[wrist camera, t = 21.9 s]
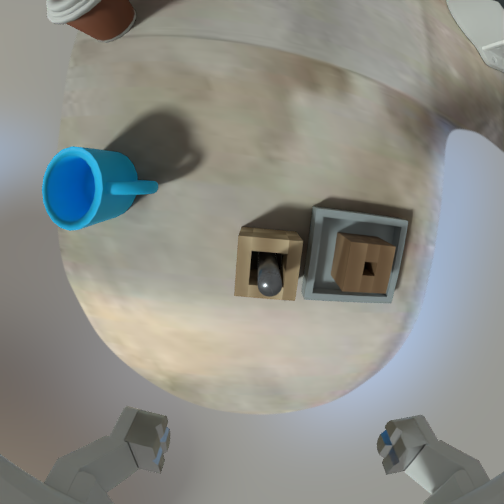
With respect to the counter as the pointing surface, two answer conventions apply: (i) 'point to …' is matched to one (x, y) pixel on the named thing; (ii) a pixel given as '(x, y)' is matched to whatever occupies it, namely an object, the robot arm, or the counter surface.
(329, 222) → the tray
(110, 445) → the robot arm
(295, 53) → the counter surface
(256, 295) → the block
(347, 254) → the block
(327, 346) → the counter surface
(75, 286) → the counter surface
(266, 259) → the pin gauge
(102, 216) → the mug
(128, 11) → the coffee cup
